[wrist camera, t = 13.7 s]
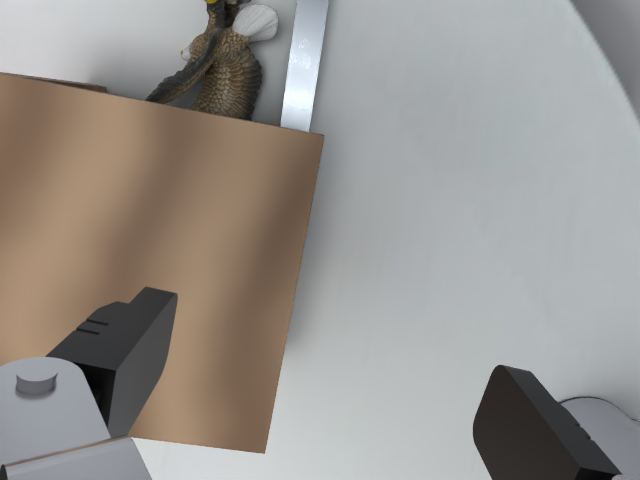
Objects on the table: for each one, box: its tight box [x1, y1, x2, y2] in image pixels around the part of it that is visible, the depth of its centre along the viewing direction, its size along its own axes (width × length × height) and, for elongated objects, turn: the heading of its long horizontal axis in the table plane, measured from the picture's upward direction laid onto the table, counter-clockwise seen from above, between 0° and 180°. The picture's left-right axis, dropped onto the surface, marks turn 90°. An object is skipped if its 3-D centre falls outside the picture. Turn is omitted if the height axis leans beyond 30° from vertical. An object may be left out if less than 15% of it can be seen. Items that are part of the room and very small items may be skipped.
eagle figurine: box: [145, 0, 279, 121], centre depth 28 cm, size 8×7×9 cm
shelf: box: [0, 72, 324, 454], centre depth 28 cm, size 15×17×11 cm
